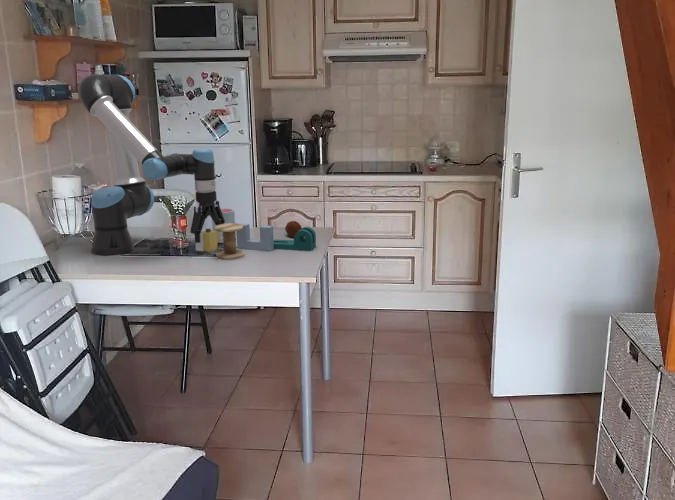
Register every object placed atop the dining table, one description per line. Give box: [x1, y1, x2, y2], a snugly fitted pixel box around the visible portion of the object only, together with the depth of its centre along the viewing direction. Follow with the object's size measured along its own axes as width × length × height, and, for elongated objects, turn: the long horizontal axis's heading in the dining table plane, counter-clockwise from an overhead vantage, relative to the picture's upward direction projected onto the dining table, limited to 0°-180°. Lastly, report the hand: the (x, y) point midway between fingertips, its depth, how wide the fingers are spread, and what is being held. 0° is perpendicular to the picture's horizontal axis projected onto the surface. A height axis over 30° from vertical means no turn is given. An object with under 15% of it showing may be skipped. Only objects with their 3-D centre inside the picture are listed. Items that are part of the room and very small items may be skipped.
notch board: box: [236, 223, 275, 252], centre depth 238 cm, size 14×3×9 cm, turn 69°
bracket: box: [273, 226, 317, 252], centre depth 240 cm, size 18×7×8 cm, turn 77°
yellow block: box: [201, 228, 218, 253], centre depth 237 cm, size 4×6×8 cm
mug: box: [211, 208, 236, 238], centre depth 259 cm, size 14×9×10 cm
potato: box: [284, 220, 303, 238], centre depth 258 cm, size 7×9×6 cm
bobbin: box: [215, 222, 245, 260], centre depth 228 cm, size 10×10×11 cm
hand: (209, 246), depth 238 cm, fingers open, 13 cm apart
